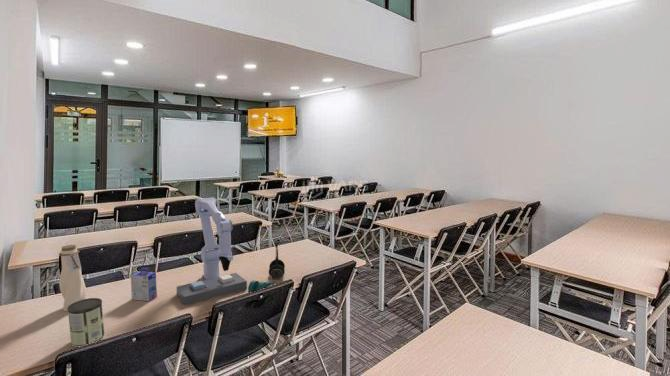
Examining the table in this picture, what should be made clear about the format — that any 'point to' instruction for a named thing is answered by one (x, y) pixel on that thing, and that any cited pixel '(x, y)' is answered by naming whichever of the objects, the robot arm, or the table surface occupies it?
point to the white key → (226, 279)
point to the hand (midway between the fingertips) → (225, 270)
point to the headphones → (276, 266)
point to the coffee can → (86, 321)
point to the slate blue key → (197, 286)
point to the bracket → (259, 285)
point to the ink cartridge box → (143, 285)
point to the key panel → (210, 289)
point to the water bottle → (71, 276)
